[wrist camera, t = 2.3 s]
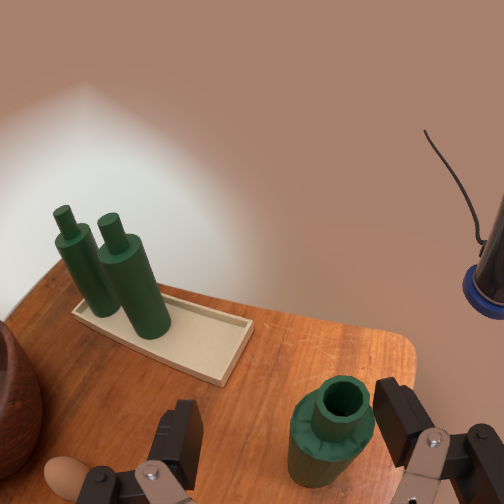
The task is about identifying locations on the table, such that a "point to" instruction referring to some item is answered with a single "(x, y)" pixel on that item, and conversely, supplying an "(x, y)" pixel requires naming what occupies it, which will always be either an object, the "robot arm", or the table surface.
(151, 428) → the table surface
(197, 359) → the tray
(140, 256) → the row bottle
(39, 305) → the table surface
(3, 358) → the wooden bowl
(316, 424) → the bottle
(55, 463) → the egg
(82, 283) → the row bottle
